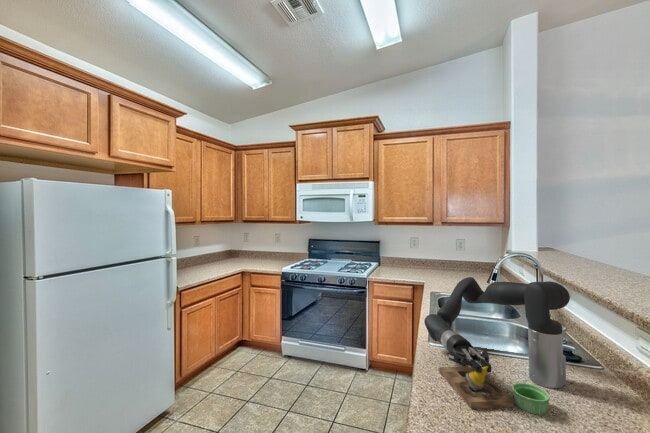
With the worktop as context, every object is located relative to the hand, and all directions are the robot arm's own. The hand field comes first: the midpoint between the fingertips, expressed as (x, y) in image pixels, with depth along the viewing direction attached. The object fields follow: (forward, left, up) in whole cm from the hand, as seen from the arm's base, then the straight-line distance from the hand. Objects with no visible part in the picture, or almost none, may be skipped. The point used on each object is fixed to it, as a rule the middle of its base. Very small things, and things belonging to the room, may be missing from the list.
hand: (484, 369), depth 89 cm
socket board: (0, -7, -9) cm, 12 cm away
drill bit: (0, -3, -7) cm, 7 cm away
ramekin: (-12, +3, -10) cm, 16 cm away
